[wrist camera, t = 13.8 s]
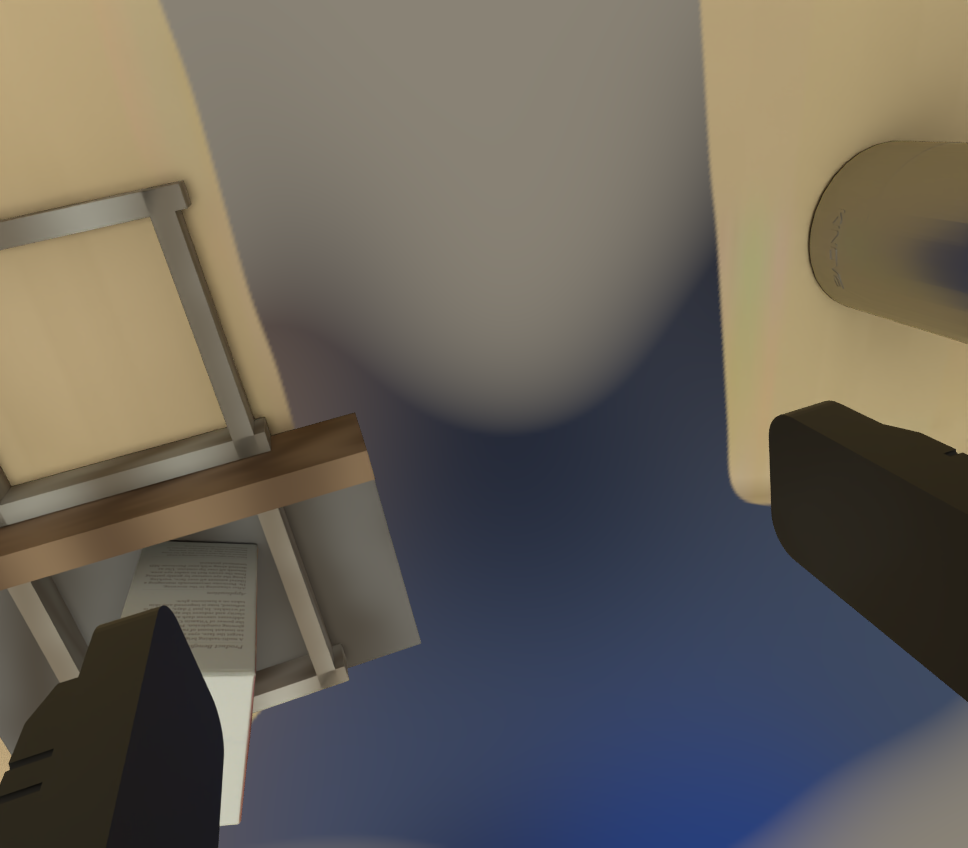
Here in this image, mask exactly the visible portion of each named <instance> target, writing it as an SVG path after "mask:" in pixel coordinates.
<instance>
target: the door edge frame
mask: <svg viewBox="0 0 968 848" xmlns="http://www.w3.org/2000/svg"><path fill="white" fill-rule="evenodd" d="M190 205H191V201H190V198H189V196H188V193H187V190H186V187H185V184H184V181H178V182H173V183H169V184H164V185H160V186H155V187H151V188H146V189H141V190H137V191H132V192H128V193H123V194H118V195H114V196H109V197H105V198H100V199H95V200H91V201H86V202H82V203H77V204H72V205H68V206H63V207H59V208H54V209H49V210H45V211H40V212H36V213H31V214H27V215H22V216H17V217H13V218H8V219H4V220H0V250H3V249H8V248H12V247H17V246H21V245H26V244H30V243H35V242H39V241H44V240H48V239H53V238H57V237H61V236H66V235H70V234H75V233H79V232H84V231H88V230H93V229H97V228H102V227H106V226H111V225H115V224H119V223H124V222H128V221H133V220H137V219H142V218H146V217H150V218H151V221H152V223H153V226H154V229H155V232H156V234H157V237H158V240H159V242H160V245H161V248H162V251H163V253H164V256H165V259H166V261H167V264H168V267H169V270H170V272H171V275H172V278H173V281H174V283H175V286H176V289H177V291H178V294H179V297H180V300H181V302H182V305H183V308H184V310H185V313H186V316H187V319H188V321H189V324H190V327H191V329H192V332H193V335H194V338H195V340H196V343H197V346H198V348H199V351H200V354H201V357H202V359H203V362H204V365H205V367H206V370H207V373H208V376H209V378H210V381H211V384H212V386H213V389H214V392H215V395H216V397H217V400H218V403H219V405H220V408H221V411H222V414H223V416H224V419H225V422H226V424H227V428H223V429H220V430H216V431H212V432H209V433H205V434H201V435H198V436H194V437H191V438H187V439H183V440H180V441H176V442H172V443H169V444H165V445H161V446H158V447H154V448H151V449H147V450H143V451H140V452H136V453H132V454H129V455H125V456H121V457H118V458H114V459H111V460H107V461H103V462H100V463H96V464H92V465H89V466H85V467H82V468H78V469H74V470H71V471H67V472H63V473H60V474H56V475H52V476H49V477H45V478H42V479H38V480H34V481H31V482H27V483H23V484H20V485H16V486H12V487H11V486H10V484H9V482H8V480H7V478H6V476H5V474H4V472H3V471H2V469H1V467H0V737H1V739H2V741H3V742H4V744H5V745H6V747H7V749H8V750H9V752H10V753H11V755H12V754H13V751H14V749H15V746H16V744H17V741H18V739H19V736H20V734H21V731H22V729H23V726H24V724H25V722H26V721H27V720H28V719H29V718H30V716H31V715H32V714H33V713H34V712H35V710H36V709H37V708H38V707H39V706H40V704H41V703H42V702H43V701H44V700H45V698H46V697H47V696H48V695H49V693H50V692H51V691H52V690H53V689H54V687H55V686H56V685H57V684H58V683H61V682H64V681H67V680H71V679H74V678H77V677H78V676H79V673H80V670H81V667H82V664H83V661H84V658H85V656H86V653H87V650H88V647H89V644H90V641H91V638H92V635H93V632H94V630H95V629H96V627H97V626H99V625H101V624H104V623H108V622H111V621H114V620H117V619H120V618H121V615H122V612H123V608H124V605H125V602H126V599H127V596H128V593H129V589H130V587H131V583H132V580H133V576H134V573H135V570H136V567H137V563H138V560H139V557H140V553H141V550H142V548H146V547H149V546H152V545H156V544H159V543H162V542H166V541H170V542H200V543H228V544H254V545H257V546H258V558H257V610H256V611H257V644H256V678H255V688H254V701H253V712H252V713H255V712H258V711H261V710H264V709H267V708H269V707H272V706H275V705H278V704H281V703H284V702H287V701H289V700H293V699H296V698H298V697H301V696H305V695H308V694H310V693H313V692H316V691H319V690H322V689H325V688H328V687H331V686H334V685H337V684H340V683H343V682H345V681H348V680H349V676H348V671H347V668H350V667H353V666H356V665H358V664H362V663H364V662H367V661H370V660H373V659H376V658H379V657H382V656H385V655H388V654H391V653H394V652H397V651H400V650H403V649H406V648H409V647H412V646H414V645H418V644H420V643H421V641H420V637H419V634H418V630H417V627H416V624H415V620H414V616H413V613H412V609H411V606H410V602H409V599H408V596H407V592H406V588H405V585H404V581H403V578H402V574H401V571H400V568H399V564H398V561H397V557H396V554H395V550H394V547H393V543H392V540H391V536H390V533H389V529H388V526H387V522H386V519H385V515H384V512H383V508H382V505H381V502H380V498H379V494H378V491H377V487H376V484H375V477H374V474H373V470H372V467H371V463H370V460H369V456H368V453H367V449H366V446H365V443H364V440H363V437H362V433H361V430H360V427H359V424H358V421H357V418H356V414H355V413H352V414H348V415H344V416H341V417H337V418H333V419H330V420H326V421H323V422H319V423H316V424H312V425H309V426H305V427H302V428H298V429H294V430H290V431H287V432H283V433H280V434H276V435H273V436H271V434H270V432H269V429H268V426H267V423H266V420H265V417H263V418H260V419H256V420H254V417H253V414H252V412H251V409H250V406H249V403H248V400H247V397H246V394H245V391H244V389H243V386H242V383H241V380H240V377H239V374H238V371H237V369H236V366H235V363H234V360H233V357H232V354H231V351H230V349H229V346H228V343H227V340H226V337H225V334H224V331H223V329H222V326H221V323H220V320H219V317H218V314H217V311H216V309H215V306H214V303H213V300H212V297H211V294H210V291H209V289H208V286H207V283H206V280H205V277H204V274H203V271H202V269H201V266H200V263H199V260H198V257H197V254H196V251H195V249H194V246H193V243H192V240H191V237H190V234H189V231H188V229H187V226H186V223H185V220H184V217H183V214H182V211H181V210H182V209H186V208H188V207H189V206H190Z"/></svg>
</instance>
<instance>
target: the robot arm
mask: <svg viewBox="0 0 968 848" xmlns="http://www.w3.org/2000/svg"><path fill="white" fill-rule="evenodd" d="M810 256H811V264H812V267H813V270H814V274H815V277H816V279H817V281H818V282H819V284H820V286H821V287H822V289H823V290H824V291H825V292H826V293H827V294H828V295H829V296H830V297H831V298H832V299H833V300H835V301H837V302H839V303H841V304H843V305H845V306H847V307H851V308H854V309H857V310H860V311H864V312H867V313H870V314H873V315H877V316H880V317H883V318H886V319H889V320H893V321H895V322H898V323H901V324H905V325H908V326H911V327H914V328H918V329H921V330H924V331H927V332H931V333H934V334H937V335H940V336H944V337H947V338H950V339H953V340H957V341H960V342H963V343H966V344H968V143H962V142H917V141H890V142H886V143H882V144H877V145H875V146H873V147H871V148H869V149H867V150H865V151H863V152H861V153H860V154H858V155H857V156H856V157H854V158H853V159H852V160H850V161H849V162H848V163H847V164H846V165H845V166H844V167H843V168H842V169H841V170H840V171H839V172H838V173H837V175H836V176H835V177H834V178H833V180H832V181H831V183H830V184H829V186H828V187H827V189H826V190H825V192H824V194H823V196H822V198H821V200H820V203H819V205H818V207H817V209H816V212H815V216H814V220H813V224H812V228H811V236H810ZM769 456H770V484H771V512H772V520H773V525H774V529H775V531H776V534H777V536H778V538H779V541H780V542H781V544H782V546H783V547H784V549H785V550H786V552H787V553H788V554H789V555H790V556H791V557H792V558H793V559H794V560H795V561H796V562H798V563H799V564H800V565H801V566H803V567H804V568H805V569H806V570H807V571H808V572H810V573H811V574H812V575H813V576H815V577H816V578H817V579H818V580H819V581H821V582H822V583H823V584H825V585H826V586H827V587H828V588H829V589H831V590H832V591H833V592H834V593H836V594H837V595H838V596H839V597H840V598H841V599H843V600H844V601H845V602H846V603H848V604H849V605H850V606H852V607H853V608H854V609H855V610H856V611H857V612H859V613H860V614H861V615H862V616H863V617H865V618H866V619H867V620H869V621H870V622H871V623H872V624H873V625H875V626H876V627H877V628H878V629H879V630H881V631H882V632H883V633H884V634H885V635H887V636H888V637H889V638H890V639H892V640H893V641H894V642H895V643H896V644H898V645H899V646H900V647H901V648H903V649H904V650H905V651H906V652H907V653H909V654H910V655H911V656H912V657H914V658H915V659H916V660H917V661H919V662H920V663H921V664H922V665H923V666H925V667H926V668H927V669H928V670H929V671H931V672H932V673H933V674H934V675H936V676H937V677H938V678H939V679H940V680H942V681H943V682H944V683H945V684H947V685H948V686H949V687H950V688H952V689H953V690H954V691H955V692H956V693H958V694H959V695H960V696H962V697H963V698H964V699H965V700H966V701H967V702H968V455H967V454H965V453H960V454H957V452H956V449H954V448H952V447H950V446H948V445H945V444H943V443H941V442H939V441H937V440H935V439H933V438H930V437H928V436H926V435H924V434H922V433H919V432H915V431H911V430H906V429H902V428H897V427H893V426H889V425H884V424H881V423H879V422H877V421H875V420H873V419H871V418H869V417H867V416H865V415H863V414H860V413H858V412H856V411H854V410H852V409H850V408H848V407H846V406H844V405H842V404H840V403H837V402H835V401H824V402H821V403H818V404H814V405H811V406H808V407H805V408H802V409H798V410H795V411H792V412H789V413H785V414H782V415H779V416H777V417H776V418H775V419H773V421H772V423H771V425H770V429H769ZM223 765H224V741H223V733H222V727H221V723H220V718H219V715H218V711H217V708H216V705H215V703H214V700H213V698H212V695H211V693H210V691H209V689H208V687H207V684H206V682H205V680H204V678H203V676H202V673H201V671H200V669H199V667H198V665H197V662H196V660H195V658H194V656H193V654H192V651H191V649H190V647H189V645H188V642H187V640H186V638H185V636H184V634H183V631H182V629H181V627H180V625H179V623H178V621H177V619H176V617H175V615H174V613H173V612H172V611H171V609H170V608H169V607H167V606H165V605H162V606H159V607H156V608H153V609H149V610H146V611H143V612H140V613H137V614H133V615H130V616H127V617H124V618H121V619H117V620H114V621H111V622H108V623H104V624H101V625H99V626H97V627H96V629H95V630H94V632H93V635H92V638H91V641H90V644H89V647H88V650H87V653H86V656H85V658H84V661H83V664H82V667H81V670H80V673H79V676H78V677H77V678H74V679H71V680H67V681H64V682H61V683H58V684H57V685H56V686H55V687H54V689H53V690H52V691H51V692H50V693H49V695H48V696H47V697H46V698H45V700H44V701H43V702H42V703H41V704H40V706H39V707H38V708H37V709H36V710H35V712H34V713H33V714H32V715H31V716H30V718H29V719H28V720H27V721H26V722H25V724H24V726H23V729H22V731H21V734H20V736H19V739H18V741H17V744H16V746H15V749H14V751H13V754H12V756H11V759H10V761H9V766H10V770H9V771H6V772H5V774H4V776H3V779H2V781H1V784H0V848H218V841H219V827H220V811H221V796H222V780H223Z"/></svg>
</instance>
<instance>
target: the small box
mask: <svg viewBox="0 0 968 848" xmlns="http://www.w3.org/2000/svg"><path fill="white" fill-rule="evenodd" d="M257 558H258V546H257V545H254V544H228V543H200V542H170V541H166V542H162V543H159V544H156V545H152V546H149V547H146V548H142V550H141V553H140V557H139V560H138V563H137V567H136V570H135V573H134V576H133V580H132V583H131V587H130V589H129V593H128V596H127V599H126V602H125V605H124V608H123V612H122V615H121V618H124V617H127V616H130V615H133V614H137V613H140V612H143V611H146V610H149V609H153V608H156V607H159V606H162V605H165V606H167V607H169V608H170V609H171V611H172V612H173V613H174V615H175V617H176V619H177V621H178V623H179V625H180V627H181V629H182V631H183V634H184V636H185V638H186V640H187V642H188V645H189V647H190V649H191V651H192V654H193V656H194V658H195V660H196V662H197V665H198V667H199V669H200V671H201V673H202V676H203V678H204V680H205V682H206V684H207V687H208V689H209V691H210V693H211V695H212V698H213V700H214V703H215V705H216V708H217V711H218V715H219V718H220V723H221V727H222V733H223V741H224V765H223V780H222V796H221V811H220V826H224V825H236V824H239V823H240V821H241V815H242V805H243V796H244V787H245V778H246V768H247V759H248V750H249V742H250V732H251V722H252V712H253V701H254V688H255V678H256V644H257V611H256V610H257ZM121 618H120V619H121Z"/></svg>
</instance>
